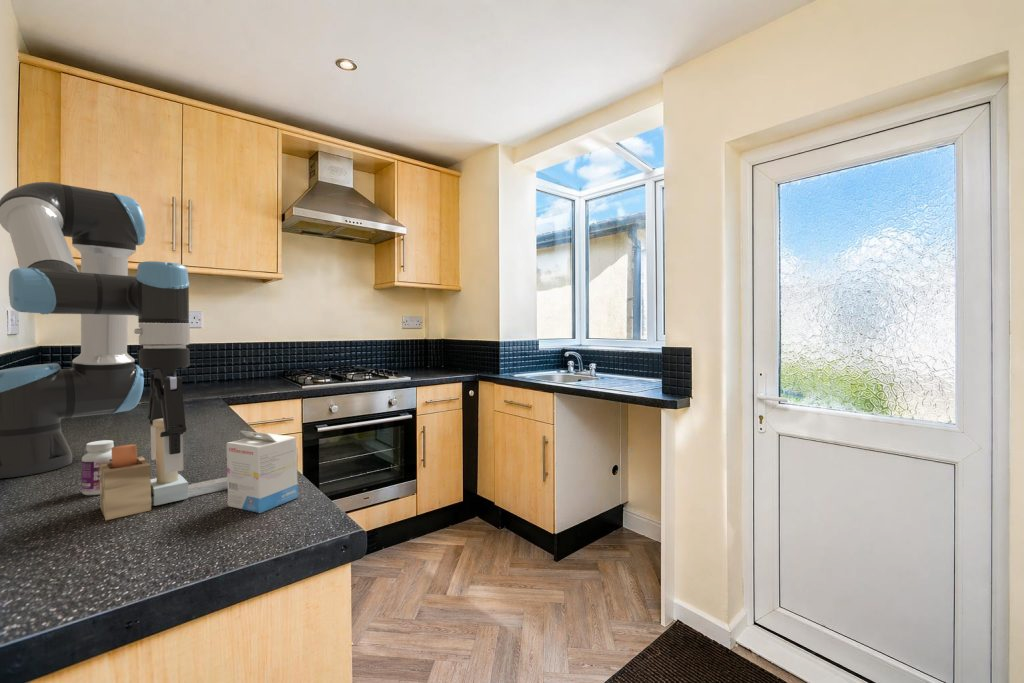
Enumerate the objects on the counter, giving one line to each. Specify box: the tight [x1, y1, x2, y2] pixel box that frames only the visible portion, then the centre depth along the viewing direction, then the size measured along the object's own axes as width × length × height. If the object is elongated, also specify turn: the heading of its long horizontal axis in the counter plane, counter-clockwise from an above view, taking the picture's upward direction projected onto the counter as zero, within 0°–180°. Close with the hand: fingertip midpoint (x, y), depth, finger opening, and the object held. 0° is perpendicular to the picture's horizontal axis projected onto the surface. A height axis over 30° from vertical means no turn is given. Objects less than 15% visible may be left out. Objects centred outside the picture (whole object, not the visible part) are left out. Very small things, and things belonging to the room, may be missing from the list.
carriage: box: [151, 418, 189, 506], centre depth 86 cm, size 7×5×15 cm
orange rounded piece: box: [112, 444, 138, 469], centre depth 81 cm, size 3×3×4 cm
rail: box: [151, 476, 228, 507], centre depth 89 cm, size 6×15×3 cm, turn 137°
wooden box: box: [99, 455, 152, 521], centre depth 82 cm, size 8×6×8 cm
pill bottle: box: [81, 439, 115, 496], centre depth 90 cm, size 5×5×10 cm
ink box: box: [226, 430, 299, 514], centre depth 85 cm, size 9×8×13 cm
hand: (166, 464), depth 86 cm, fingers open, 11 cm apart
